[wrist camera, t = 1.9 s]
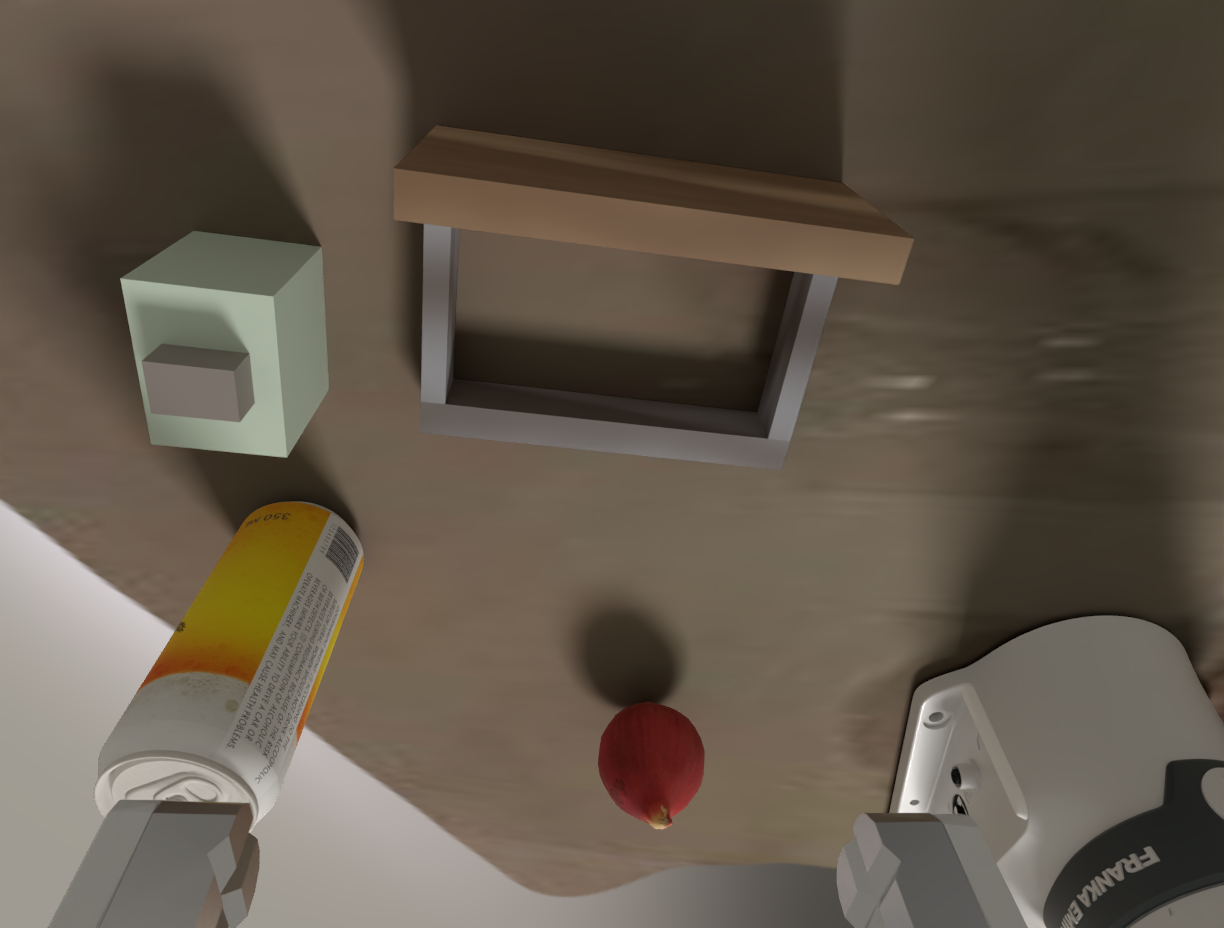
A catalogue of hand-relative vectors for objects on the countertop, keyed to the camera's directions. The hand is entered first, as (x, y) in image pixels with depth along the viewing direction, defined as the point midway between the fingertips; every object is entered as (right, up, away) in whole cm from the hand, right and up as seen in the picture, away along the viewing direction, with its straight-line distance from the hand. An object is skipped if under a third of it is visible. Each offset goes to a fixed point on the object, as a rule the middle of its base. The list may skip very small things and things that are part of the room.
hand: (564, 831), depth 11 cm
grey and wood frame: (+1, +11, +23) cm, 26 cm away
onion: (+3, -9, +36) cm, 38 cm away
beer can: (-15, +1, +29) cm, 33 cm away
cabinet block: (-14, +11, +23) cm, 29 cm away
